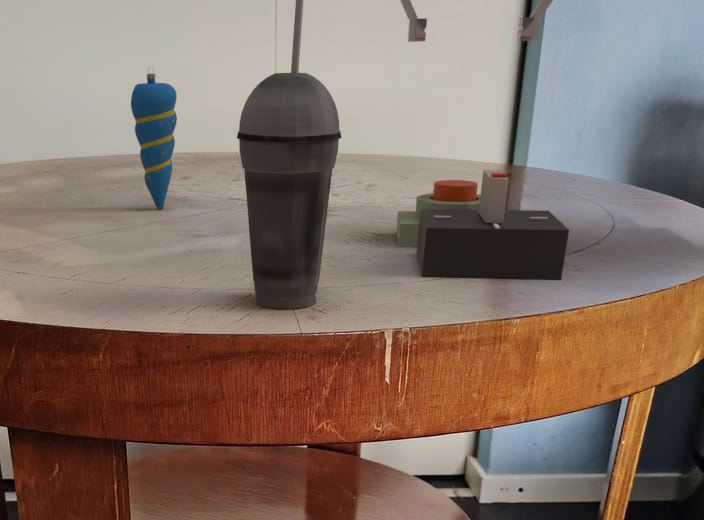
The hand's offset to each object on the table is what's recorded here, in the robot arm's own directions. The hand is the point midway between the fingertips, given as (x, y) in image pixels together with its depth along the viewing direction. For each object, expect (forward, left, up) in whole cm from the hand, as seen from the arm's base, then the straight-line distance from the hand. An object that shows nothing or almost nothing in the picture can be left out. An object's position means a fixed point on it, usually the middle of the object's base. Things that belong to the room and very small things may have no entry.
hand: (471, 41), depth 79 cm
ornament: (+32, -17, -17) cm, 40 cm away
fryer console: (-2, +10, -17) cm, 20 cm away
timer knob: (-2, +11, -13) cm, 17 cm away
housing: (0, -1, -17) cm, 17 cm away
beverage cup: (+14, +23, -17) cm, 32 cm away
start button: (0, -1, -14) cm, 14 cm away
